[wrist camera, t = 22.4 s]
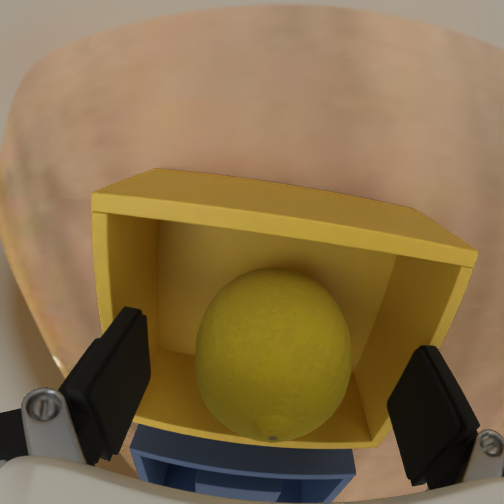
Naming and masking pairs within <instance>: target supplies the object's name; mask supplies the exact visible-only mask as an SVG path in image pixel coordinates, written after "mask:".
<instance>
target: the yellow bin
mask: <svg viewBox="0 0 504 504" xmlns="http://www.w3.org/2000/svg"><path fill="white" fill-rule="evenodd" d="M91 211H93V212H92V213H91V222H92V244H93V259H94V272H95V282H96V291H97V300H98V308H99V315H100V322H101V329H102V335H103V334H104V332H105V331H106V330H107V328H108V327H109V326H110V324H111V323H112V322H113V320H114V319H115V318H116V316H117V315H118V314H119V312H120V311H121V310H122V309H123V307H124V306H127V307H132V308H137V309H141V310H142V314H144V315H146V316H147V326H148V341H149V354H150V366H151V378H150V382H149V384H148V386H147V389H146V391H145V393H144V395H143V398H142V400H141V402H140V404H139V407H138V409H137V411H136V414H135V416H134V418H133V420H132V422H136V423H139V424H143V425H147V426H151V427H155V428H159V429H163V430H167V431H172V432H176V433H181V434H186V435H191V436H196V437H202V438H207V439H213V440H220V441H227V442H234V443H242V444H250V445H260V446H271V447H284V448H304V449H356V448H376V447H378V446H379V445H380V443H381V442H382V441H383V439H384V438H385V437H386V435H387V434H388V432H389V431H390V430H391V428H392V423H391V420H390V417H389V414H388V411H387V400H388V398H389V397H390V395H391V393H392V391H393V390H394V388H395V386H396V384H397V383H398V381H399V379H400V377H401V375H402V373H403V371H404V370H405V368H406V366H407V364H408V362H409V360H410V358H411V356H412V354H413V352H414V350H416V349H418V347H419V346H421V345H433V346H436V347H437V349H438V350H439V348H440V346H441V344H442V342H443V340H444V338H445V336H446V334H447V332H448V329H449V327H450V325H451V323H452V321H453V319H454V316H455V314H456V312H457V310H458V307H459V305H460V302H461V300H462V298H463V295H464V293H465V290H466V288H467V285H468V282H469V280H470V277H471V274H472V272H473V268H474V266H475V263H476V260H477V257H478V254H479V252H478V251H477V250H475V249H474V248H473V247H471V246H470V245H468V244H467V243H466V242H464V241H463V240H461V239H460V238H458V237H457V236H455V235H454V234H452V233H451V232H449V231H448V230H446V229H445V228H443V227H442V226H440V225H439V224H437V223H436V222H434V221H432V220H431V219H429V218H428V217H426V216H424V215H423V214H421V213H420V212H418V211H416V210H415V209H412V208H408V207H403V206H399V205H394V204H390V203H385V202H380V201H376V200H371V199H366V198H361V197H356V196H351V195H346V194H340V193H335V192H330V191H324V190H318V189H313V188H307V187H301V186H295V185H288V184H282V183H275V182H269V181H262V180H255V179H247V178H240V177H232V176H224V175H216V174H207V173H198V172H188V171H178V170H168V169H156V168H155V169H152V170H149V171H146V172H144V173H141V174H138V175H135V176H133V177H130V178H127V179H125V180H122V181H119V182H117V183H114V184H111V185H109V186H106V187H104V188H101V189H99V190H96V191H94V192H92V193H91ZM268 267H278V268H288V269H292V270H295V271H297V272H300V273H303V274H306V275H308V276H309V277H311V278H312V279H314V280H315V281H317V282H318V283H320V284H321V285H322V286H323V287H324V288H325V289H326V290H327V291H328V292H329V294H330V295H331V296H332V297H333V298H334V299H335V301H336V302H337V304H338V305H339V307H340V309H341V312H342V314H343V316H344V319H345V321H346V323H347V326H348V329H349V333H350V340H351V353H352V367H351V375H350V379H349V383H348V386H347V389H346V392H345V395H344V398H343V400H342V401H341V403H340V405H339V406H338V408H337V409H336V410H335V412H334V413H333V415H332V416H331V417H330V418H329V419H328V420H327V421H325V422H324V423H323V424H322V425H321V426H319V427H318V428H317V429H315V430H313V431H312V432H310V433H308V434H306V435H304V436H302V437H299V438H295V439H292V440H289V441H282V442H276V443H269V442H262V441H256V440H253V439H249V438H246V437H243V436H241V435H239V434H237V433H235V432H233V431H231V430H230V429H228V428H227V427H226V426H224V425H223V424H222V423H221V422H219V421H218V420H217V419H216V418H215V417H214V416H213V414H212V413H211V411H210V410H209V409H208V407H207V406H206V404H205V402H204V401H203V399H202V396H201V393H200V390H199V386H198V383H197V380H196V374H195V347H196V337H197V333H198V329H199V326H200V324H201V321H202V319H203V316H204V314H205V311H206V309H207V307H208V306H209V304H210V303H211V301H212V300H213V299H214V298H215V296H216V295H217V294H218V293H219V292H220V290H221V289H222V288H223V287H224V286H225V285H227V284H228V283H230V282H231V281H232V280H234V279H235V278H237V277H238V276H240V275H242V274H245V273H248V272H250V271H253V270H255V269H261V268H268Z"/></svg>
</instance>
